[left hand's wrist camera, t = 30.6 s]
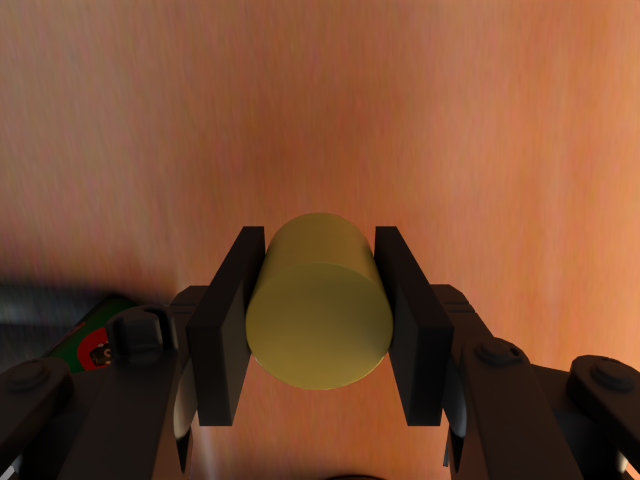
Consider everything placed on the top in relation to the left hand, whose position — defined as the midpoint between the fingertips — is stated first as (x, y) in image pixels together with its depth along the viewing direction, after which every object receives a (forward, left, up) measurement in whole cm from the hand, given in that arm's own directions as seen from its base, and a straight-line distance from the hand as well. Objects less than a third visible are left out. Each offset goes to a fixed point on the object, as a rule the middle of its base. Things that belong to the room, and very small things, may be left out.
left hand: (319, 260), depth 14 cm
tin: (0, 0, 0) cm, 0 cm away
